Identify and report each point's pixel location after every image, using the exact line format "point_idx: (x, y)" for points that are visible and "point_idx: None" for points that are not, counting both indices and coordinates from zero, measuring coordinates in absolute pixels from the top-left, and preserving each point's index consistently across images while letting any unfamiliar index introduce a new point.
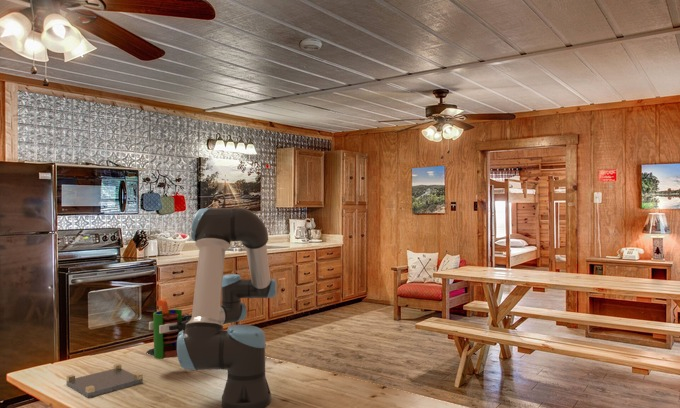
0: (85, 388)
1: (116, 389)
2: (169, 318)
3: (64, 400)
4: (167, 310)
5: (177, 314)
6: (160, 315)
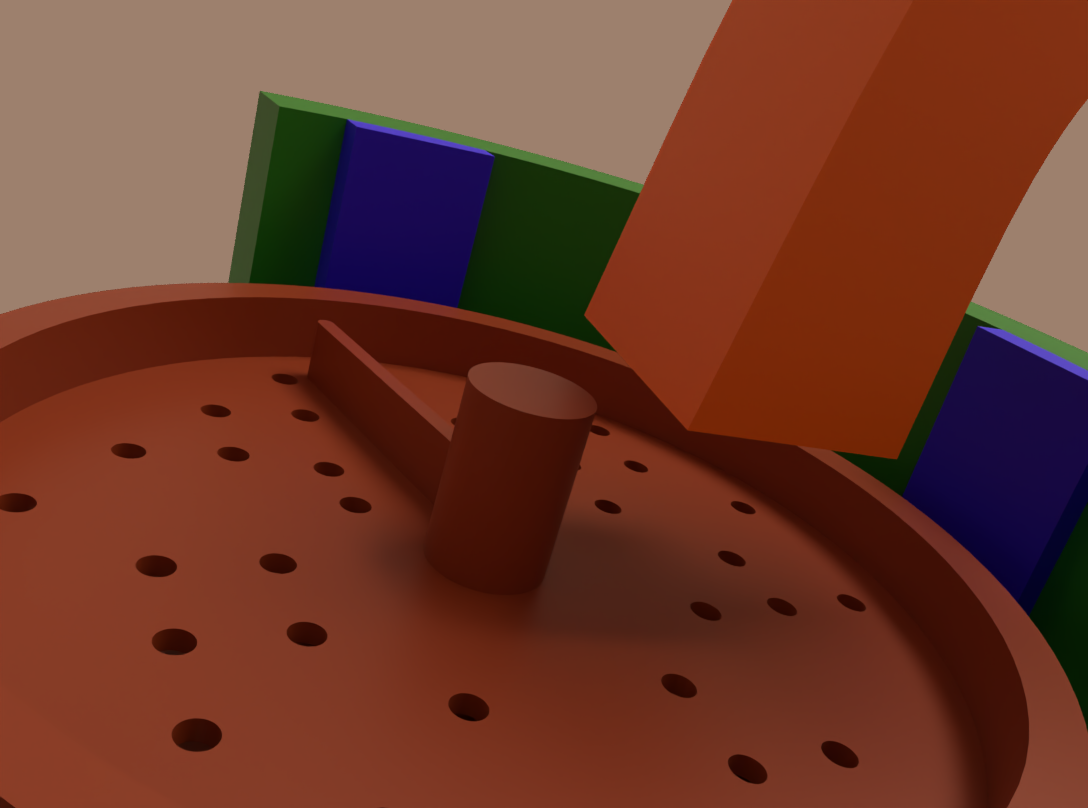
0: None
1: None
2: (76, 353)
3: None
4: (717, 254)
5: (119, 802)
6: (307, 127)
